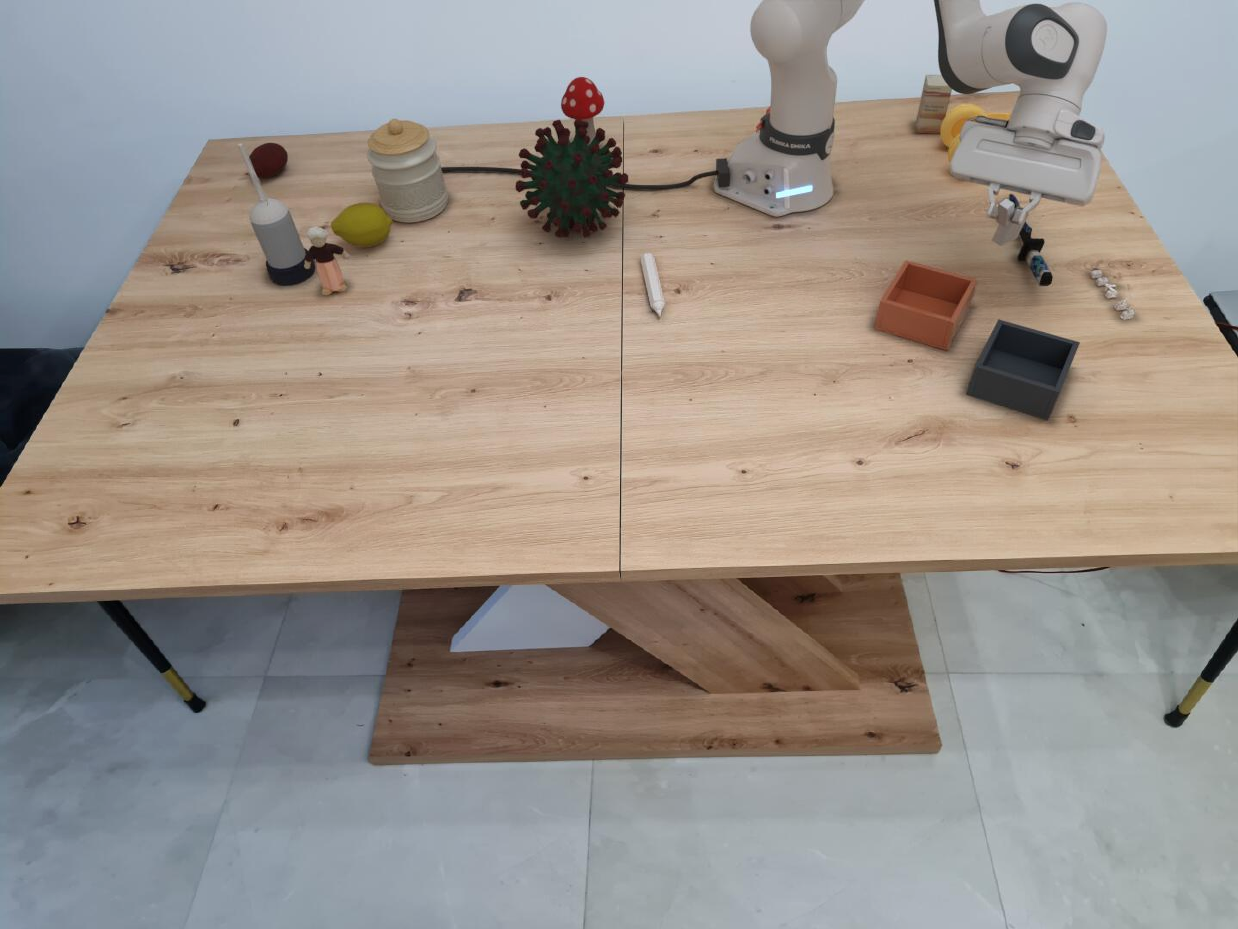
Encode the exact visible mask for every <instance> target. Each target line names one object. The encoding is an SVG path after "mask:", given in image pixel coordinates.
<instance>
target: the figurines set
mask: <svg viewBox="0 0 1238 929" xmlns="http://www.w3.org/2000/svg"><path fill="white" fill-rule="evenodd" d="M1089 276H1090V277H1091V279H1096V282H1095V285H1096V286H1098V287H1100V286H1105V288H1104V291H1105V292H1106V293H1105V295H1104V296H1105V297H1106V299H1114V298H1117V297H1118V294H1119V292H1118V291H1117V290H1116V289H1114V287H1117V285H1116V284H1109V279H1108V278H1107V277H1106V276H1105V277H1102V276H1103V272H1102V270H1101V269H1094V270H1092V271H1091V272H1090V275H1089ZM1108 289H1109V290H1108ZM1132 296H1134V293H1133V292H1131V293H1130V294H1129V296H1128V297H1126V298H1124V299H1122V301H1117V302H1116V303H1115V305H1114V310H1116V311H1122V313H1121V315H1120V319H1121V320H1132V319H1133V318H1134V316H1135V312H1134V310H1135V309H1136V307H1133V308H1132V306H1130V307H1128V304H1127V302H1128V301H1129V300H1130V298H1131V297H1132ZM1127 300H1128V301H1127ZM1123 310H1124V311H1123Z"/></svg>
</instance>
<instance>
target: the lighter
mask: <svg viewBox="0 0 1238 929" xmlns="http://www.w3.org/2000/svg"><path fill="white" fill-rule="evenodd" d="M997 205H998V211H997V213H998V216H997V220H996V219H995V221H996V223H997V224H998V226H997V228H996V229H995V232H994V234H993V236H992V238H991V241H992V242H993V243H994V244H996V245H997V246H1000V247H1001V246H1004V245H1005V244H1008V243H1011V242H1012V241H1015V240H1017V239H1018V237H1019V236H1020V234H1019V233H1020V231H1021V229H1022V227H1023V225H1024V223H1025V221H1026V222H1027V219H1028V217H1029V215H1030V213H1029V214H1026V217H1025V219H1024V222H1023V224H1022V226H1021V225H1017V224H1013V223H1012V219H1013V216H1015V215H1014V213H1015V211H1016V209H1018V210H1023V209H1024V208H1025V207H1022V206H1021V205H1020V206H1019V207H1017V208H1014V206H1015V204H1014V203H1013V202H1011V201H1010V200H1009V198H1006V197H1005V198H1004V199H1002V200H1001V201H1000V202H999V203H998V204H997Z"/></svg>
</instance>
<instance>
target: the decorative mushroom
mask: <svg viewBox="0 0 1238 929" xmlns="http://www.w3.org/2000/svg"><path fill="white" fill-rule="evenodd" d="M604 107H605V98H604V95H603V93H602V92H601V91H600V90H599V89H598V87H597V86H596V84H595V83H594V81H592V80H591V79H590V78H588V77H585V76H578V77H575V78H574V79H572V80H571V81H570V82H569V83H568V85H567V87H566V90H565V92H564V94H563V96H562V97H561V102H560V108H561V112H562V114H564V116H566V117H568V119H572V120H574V121H575V120H577V119H578V120H582V121H585V122H588V128H587V131H588V132H587V135H588V136H589V137H590V142H589V144H590V143H591V142H592V140H593V139H594V137H595V135H596V128H595V122H594V117H597V116H598V115H599V114H601V112H602V111H603V110H604ZM589 144H588V145H589ZM599 147H600V148H601V142H600V143H599Z"/></svg>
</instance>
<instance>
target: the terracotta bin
mask: <svg viewBox="0 0 1238 929" xmlns="http://www.w3.org/2000/svg"><path fill="white" fill-rule="evenodd" d="M978 281H979V279H978V278H974V277H971V276H966V275H963V274H959V273H955V272H952V271H948V270H944V269H941V268H937V267H933V266H929V265H925V264H922V263H919V262H915V261H910V260H907V259H905V260H904V262H903V264H902V265H901V266H900V268H899V269H898V271H897V273H896V274H895V276H894V277H893V279H892V281H891V282H890V284H889V286H888V287H887V288H886V290H885V291H884V293H883V295H882V296H881V298H880V299H879V303H878V308H877V313H876V318H875V324H874V329H875V330H878V331H880V332H884V333H888V334H891V335H894V336H897V337H900V338H905V339H908V340H911V341H914V342H916V343H920V344H923V345H927V346H930V347H934V348H937V349H940V350H944V351H948V349H949V348H950V346H951V344H952V342H953V340H954V339H955V337H956V335H957V333H958V332H959V329H960V327H961V325H962V323H963V321H964V320H965V318H966V316H967V314H968V312H969V310H970V308H971V305H972V301H973V298H974V295H975V292H976V287H977V284H978Z"/></svg>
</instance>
